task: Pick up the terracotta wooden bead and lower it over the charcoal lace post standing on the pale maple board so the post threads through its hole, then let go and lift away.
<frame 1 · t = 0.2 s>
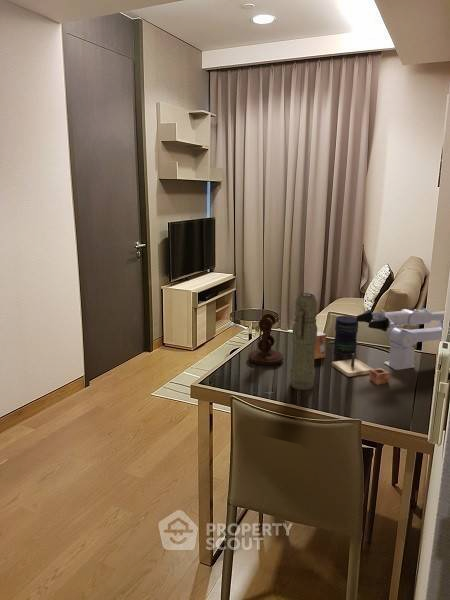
hand: (362, 321, 182), 21 cm above the table, tool horizontal, fingers open, 7 cm apart
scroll: (265, 361, 198), on the table
bead: (378, 380, 180), on the table
lacing board: (352, 369, 191), on the table
small box: (313, 357, 204), on the table
grey-green tall column: (301, 385, 175), on the table
storage jar: (344, 351, 211), on the table
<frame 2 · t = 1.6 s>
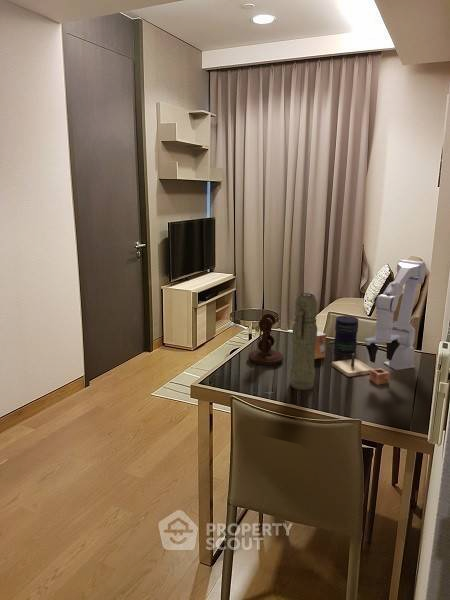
hand: (380, 360, 178), 8 cm above the table, tool pointing down, fingers open, 7 cm apart
nothing on the table moved.
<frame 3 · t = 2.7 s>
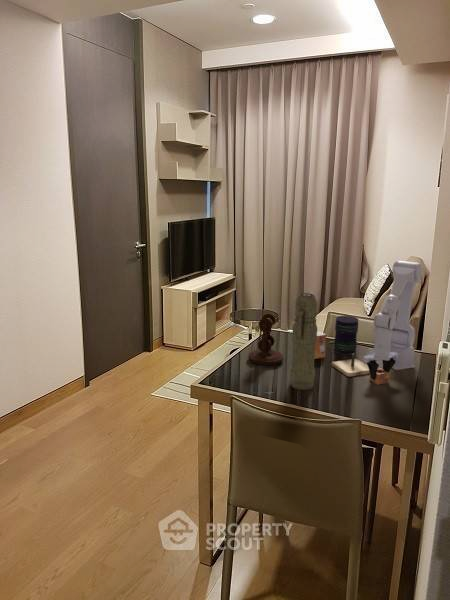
hand: (378, 377, 179), 1 cm above the table, tool pointing down, fingers closed on bead, 5 cm apart
bead: (378, 380, 180), on the table, touching gripper
everything else where it was.
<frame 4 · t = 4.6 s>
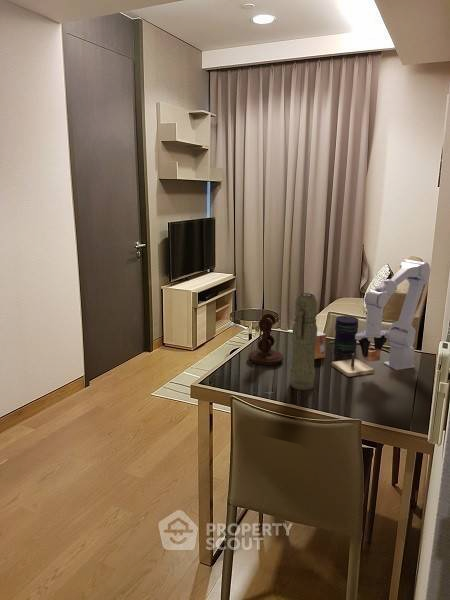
hand: (370, 355, 181), 9 cm above the table, tool pointing down, fingers closed on bead, 5 cm apart
bead: (370, 358, 182), point 7 cm above the table, touching gripper
everything else where it was.
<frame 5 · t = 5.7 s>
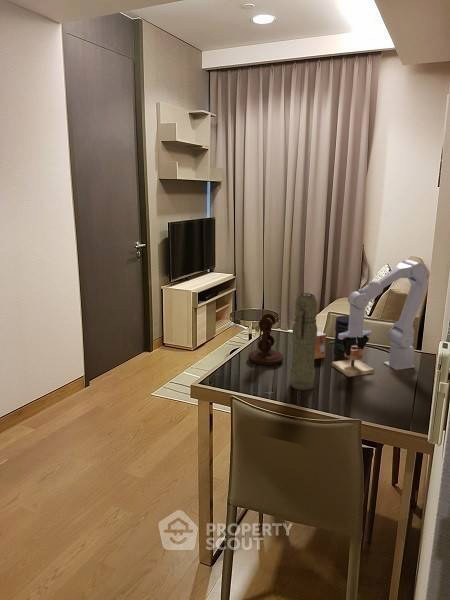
hand: (353, 354, 189), 6 cm above the table, tool pointing down, fingers closed on bead, 5 cm apart
bead: (353, 357, 189), point 5 cm above the table, touching gripper
everything else where it was.
when the fingers open (4 cm above the table, at t = 6.7 s): bead drops 1 cm, resting on lacing board.
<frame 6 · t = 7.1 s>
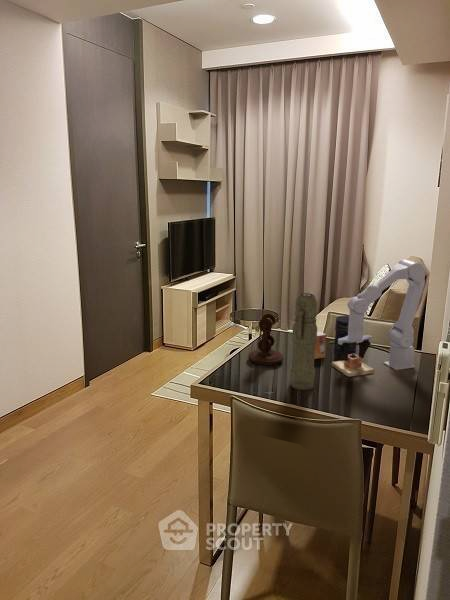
hand: (353, 359, 189), 4 cm above the table, tool pointing down, fingers open, 7 cm apart
bead: (352, 365, 190), point 1 cm above the table, touching lacing board
everything else where it was.
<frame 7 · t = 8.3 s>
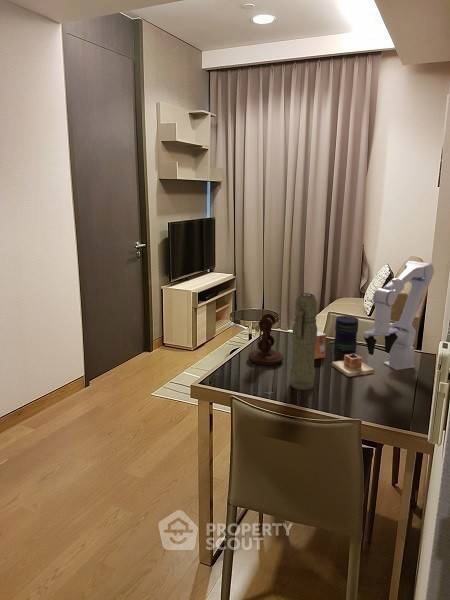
hand: (379, 353, 182), 9 cm above the table, tool pointing down, fingers open, 7 cm apart
nothing on the table moved.
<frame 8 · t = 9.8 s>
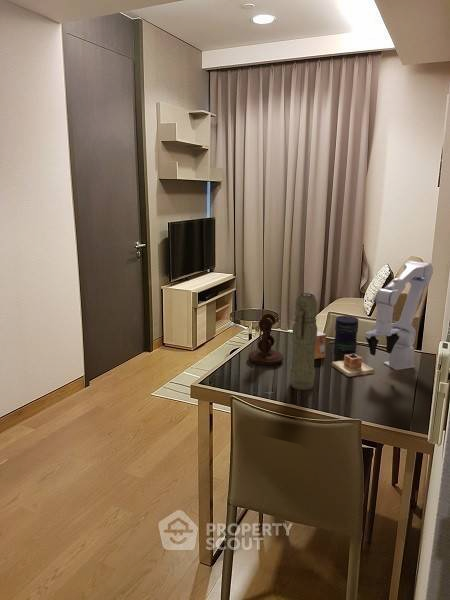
hand: (380, 353, 182), 9 cm above the table, tool pointing down, fingers open, 7 cm apart
nothing on the table moved.
at the end: bead 0.0 cm from the lacing board (horizontally); bead point 1.5 cm above the table; the gripper is holding nothing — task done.
